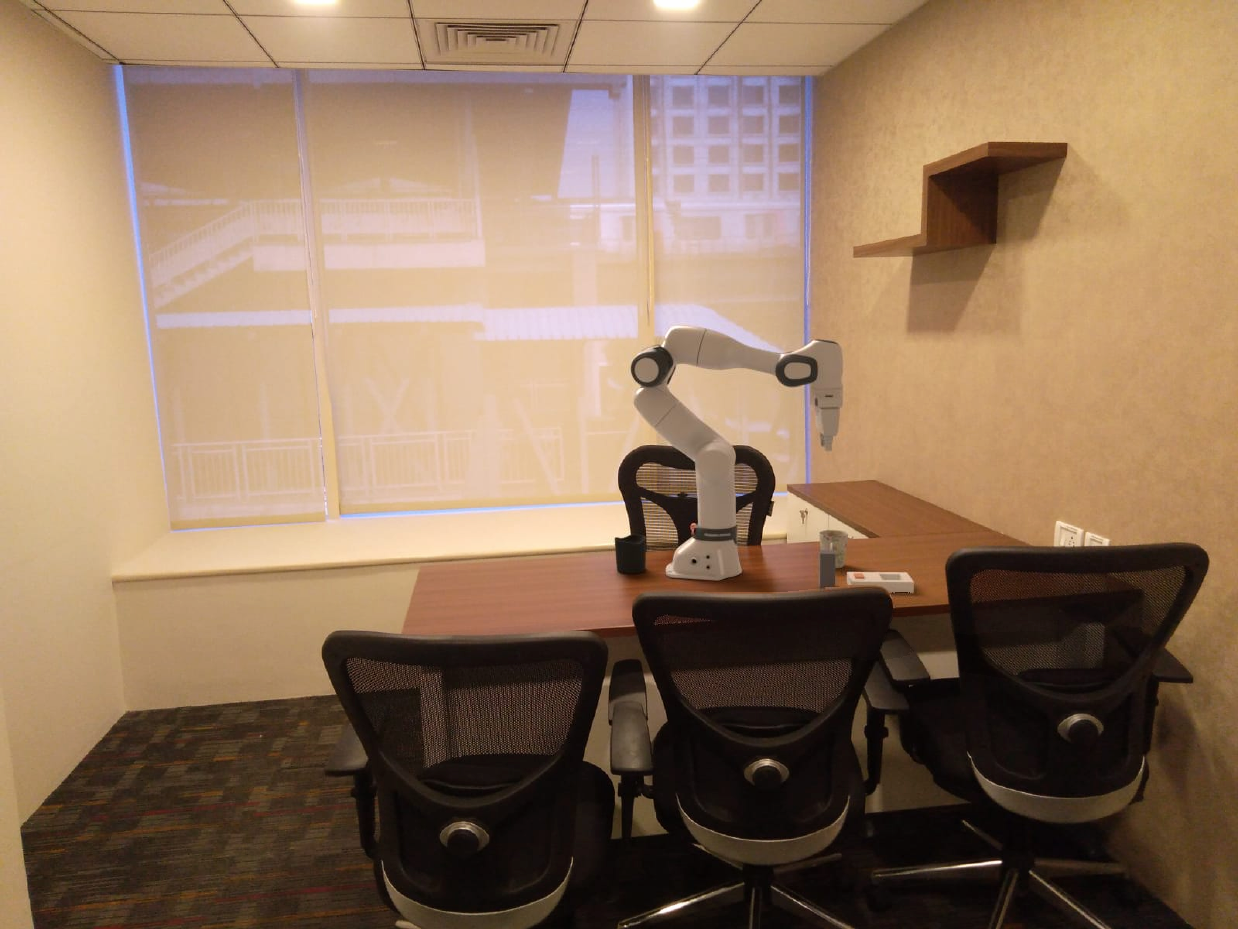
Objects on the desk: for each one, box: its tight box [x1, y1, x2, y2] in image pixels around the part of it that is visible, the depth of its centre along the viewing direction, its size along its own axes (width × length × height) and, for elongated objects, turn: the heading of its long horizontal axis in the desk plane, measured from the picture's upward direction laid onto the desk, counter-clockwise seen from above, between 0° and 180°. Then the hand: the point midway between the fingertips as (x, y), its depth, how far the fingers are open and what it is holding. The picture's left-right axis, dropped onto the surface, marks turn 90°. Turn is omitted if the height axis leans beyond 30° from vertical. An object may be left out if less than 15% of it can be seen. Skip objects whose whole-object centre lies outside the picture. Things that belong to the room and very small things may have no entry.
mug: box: [818, 529, 849, 569], centre depth 238 cm, size 8×13×10 cm, turn 164°
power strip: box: [846, 571, 915, 594], centre depth 219 cm, size 16×9×4 cm, turn 82°
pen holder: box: [614, 534, 647, 575], centre depth 243 cm, size 9×9×10 cm
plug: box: [817, 549, 836, 589], centre depth 220 cm, size 4×4×10 cm
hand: (825, 448), depth 223 cm, fingers open, 8 cm apart
